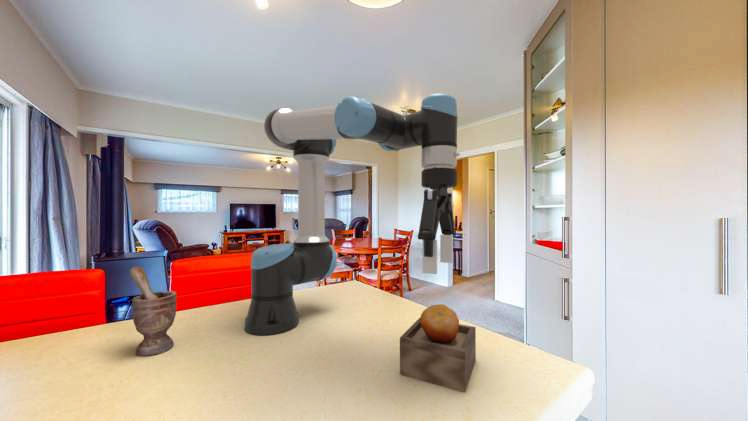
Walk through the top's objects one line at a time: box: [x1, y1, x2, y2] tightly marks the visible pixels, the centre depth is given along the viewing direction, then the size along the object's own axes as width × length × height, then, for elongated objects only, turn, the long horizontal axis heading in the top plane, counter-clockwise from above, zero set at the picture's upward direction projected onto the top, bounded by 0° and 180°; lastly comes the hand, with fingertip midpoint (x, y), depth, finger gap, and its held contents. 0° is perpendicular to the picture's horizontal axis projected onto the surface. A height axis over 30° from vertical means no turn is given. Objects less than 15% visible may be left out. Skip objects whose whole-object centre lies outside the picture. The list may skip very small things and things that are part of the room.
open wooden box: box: [399, 316, 477, 393], centre depth 62 cm, size 13×13×8 cm
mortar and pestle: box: [129, 265, 178, 357], centre depth 70 cm, size 12×9×20 cm
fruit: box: [420, 303, 460, 342], centre depth 63 cm, size 8×8×8 cm
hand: (438, 267), depth 62 cm, fingers open, 13 cm apart
